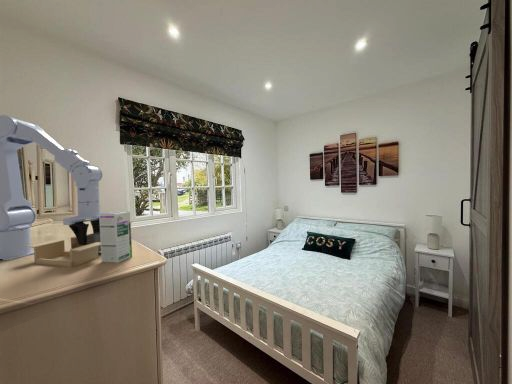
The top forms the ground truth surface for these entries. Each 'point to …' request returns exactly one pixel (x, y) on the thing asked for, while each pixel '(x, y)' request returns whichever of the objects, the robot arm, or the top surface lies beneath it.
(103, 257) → the syrup box
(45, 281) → the top surface
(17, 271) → the top surface
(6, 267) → the top surface
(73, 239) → the box
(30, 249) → the robot arm
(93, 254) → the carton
